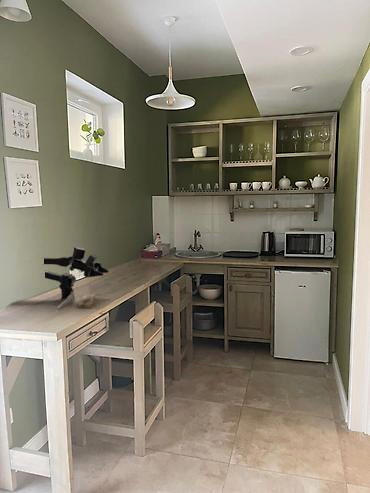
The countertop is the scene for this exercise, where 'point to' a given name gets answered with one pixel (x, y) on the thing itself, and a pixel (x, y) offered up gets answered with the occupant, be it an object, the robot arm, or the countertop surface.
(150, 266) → the countertop surface
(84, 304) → the walnut board
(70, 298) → the caliper
